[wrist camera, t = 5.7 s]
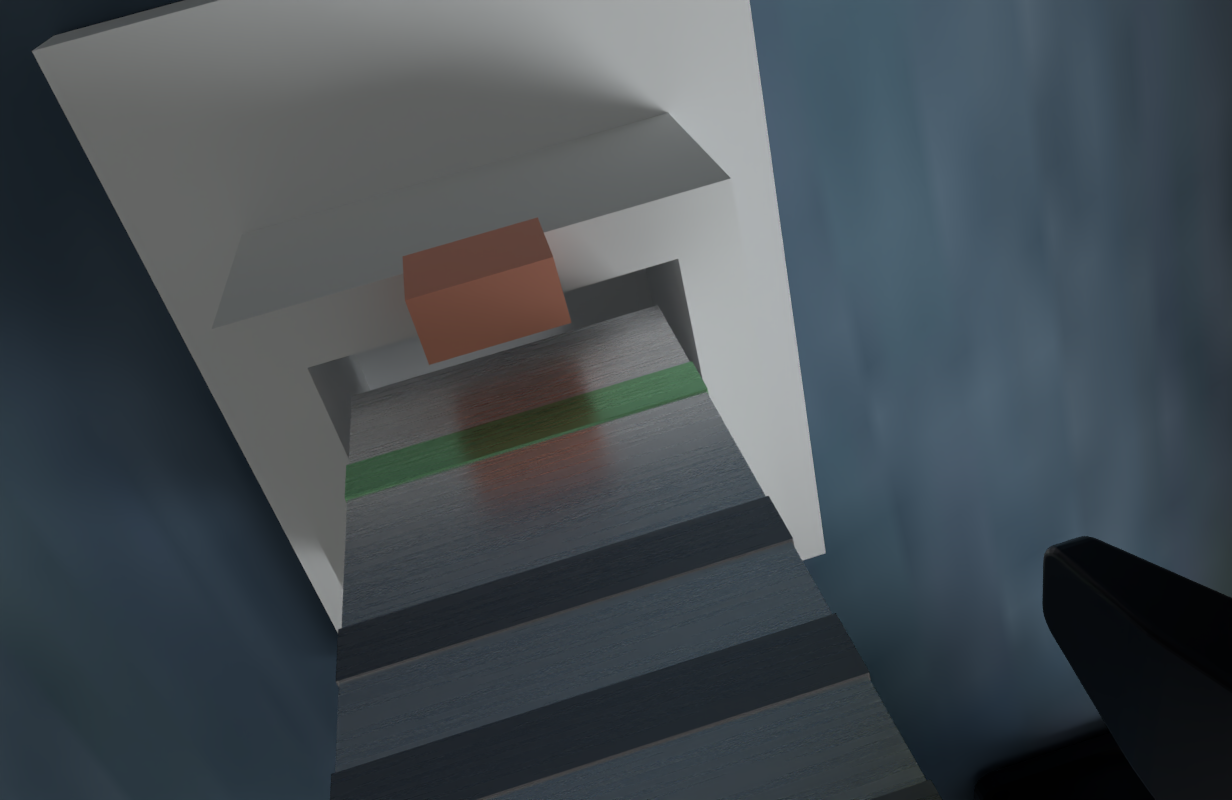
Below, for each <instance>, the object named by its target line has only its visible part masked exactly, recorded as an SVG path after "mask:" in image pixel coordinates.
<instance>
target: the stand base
mask: <svg viewBox="0 0 1232 800" xmlns="http://www.w3.org/2000/svg"><path fill="white" fill-rule="evenodd" d="M32 53H33V54H34V56H35V58H36V60H37V62H38V64H39V66H40V68H41V70H42V72H43V73H44V75H45V77H46V79H47V81H48V83H49V85H50V87H51V89H52V91H53V92H54V94H55V96H56V98H57V100H58V102H59V104H60V106H61V108H62V110H63V111H64V113H65V115H66V117H67V119H68V121H69V123H70V125H71V127H72V129H73V130H74V132H75V134H76V136H77V138H78V140H79V142H80V144H81V146H82V148H83V150H84V151H85V153H86V155H87V157H88V159H89V161H90V163H91V165H92V167H93V169H94V170H95V172H96V174H97V176H98V178H99V180H100V182H101V184H102V186H103V188H104V189H105V191H106V193H107V195H108V197H109V199H110V201H111V203H112V205H113V207H114V208H115V210H116V212H117V214H118V216H119V218H120V220H121V222H122V224H123V226H124V227H125V229H126V231H127V233H128V235H129V237H130V239H131V241H132V243H133V245H134V247H135V248H136V250H137V252H138V254H139V256H140V258H141V260H142V262H143V264H144V266H145V267H146V269H147V271H148V273H149V275H150V277H151V279H152V281H153V283H154V285H155V286H156V288H157V290H158V292H159V294H160V296H161V298H162V300H163V302H164V304H165V305H166V307H167V309H168V311H169V313H170V315H171V317H172V319H173V321H174V323H175V324H176V326H177V328H178V330H179V332H180V334H181V336H182V338H183V340H184V342H185V343H186V345H187V347H188V349H189V351H190V353H191V355H192V357H193V359H194V361H195V363H196V364H197V366H198V368H199V370H200V372H201V374H202V376H203V378H204V380H205V382H206V383H207V385H208V387H209V389H210V391H211V393H212V395H213V397H214V399H215V401H216V402H217V404H218V406H219V408H220V410H221V412H222V414H223V416H224V418H225V420H226V421H227V423H228V425H229V427H230V429H231V431H232V433H233V435H234V437H235V439H236V440H237V442H238V444H239V446H240V448H241V450H242V452H243V454H244V456H245V458H246V460H247V461H248V463H249V465H250V467H251V469H252V471H253V473H254V475H255V477H256V479H257V480H258V482H259V484H260V486H261V488H262V490H263V492H264V494H265V496H266V498H267V499H268V501H269V503H270V505H271V507H272V509H273V511H274V513H275V515H276V517H277V518H278V520H279V522H280V524H281V526H282V528H283V530H284V532H285V534H286V536H287V537H288V539H289V541H290V543H291V545H292V547H293V549H294V551H295V553H296V555H297V557H298V558H299V560H300V562H301V564H302V566H303V568H304V570H305V572H306V574H307V576H308V577H309V579H310V581H311V583H312V585H313V587H314V589H315V591H316V593H317V595H318V596H319V598H320V600H321V602H322V604H323V606H324V608H325V610H326V612H327V614H328V615H329V617H330V619H331V621H332V623H333V625H334V627H335V629H336V631H337V633H338V629H341V628H342V606H343V583H344V561H345V538H346V516H347V502H346V500H345V479H346V465H348V464H349V448H350V425H351V403H352V396H353V395H356V394H359V393H363V392H366V391H370V390H373V389H376V388H380V387H383V386H386V385H390V384H393V383H396V382H400V381H403V380H407V379H410V378H413V377H417V376H420V375H423V374H427V373H430V372H434V371H437V370H440V369H444V368H447V367H450V366H454V365H457V364H461V363H464V362H467V361H471V360H474V359H477V358H481V357H484V356H488V355H491V354H494V353H498V352H501V351H504V350H508V349H511V348H514V347H518V346H521V345H525V344H528V343H531V342H535V341H538V340H541V339H545V338H548V337H552V336H555V335H558V334H562V333H565V332H568V331H572V330H575V329H579V328H582V327H585V326H589V325H592V324H595V323H599V322H602V321H605V320H609V319H612V318H616V317H619V316H622V315H626V314H629V313H632V312H636V311H639V310H643V309H646V308H649V307H653V306H656V305H658V307H659V308H660V310H661V312H662V314H663V315H664V317H665V319H666V321H667V322H668V324H669V326H670V328H671V329H672V331H673V333H674V335H675V337H676V338H677V340H678V342H679V344H680V345H681V347H682V349H683V351H684V352H685V354H686V356H687V358H688V360H689V361H690V362H691V361H692V362H693V364H694V365H695V367H696V369H697V371H698V373H699V374H700V376H701V378H702V380H703V381H704V383H705V385H706V387H707V388H708V393H709V397H710V398H711V400H712V402H713V404H714V406H715V407H716V409H717V411H718V413H719V414H720V416H721V418H722V420H723V421H724V423H725V425H726V427H727V429H728V430H729V432H730V434H731V436H732V437H733V439H734V441H735V443H736V444H737V446H738V448H739V450H740V451H741V453H742V455H743V457H744V459H745V460H746V462H747V464H748V466H749V467H750V469H751V471H752V473H753V474H754V476H755V478H756V480H757V482H758V483H759V485H760V487H761V489H762V490H763V492H764V494H765V496H769V497H770V499H771V501H772V502H773V504H774V506H775V508H776V509H777V511H778V513H779V515H780V516H781V518H782V520H783V522H784V523H785V525H786V527H787V529H788V530H789V532H790V534H791V536H792V537H793V541H794V547H795V549H796V551H797V552H798V554H799V556H800V558H801V559H802V560H806V559H809V558H812V557H815V556H818V555H821V554H825V553H826V552H825V545H824V538H823V531H822V523H821V516H820V509H819V502H818V494H817V487H816V480H815V473H814V465H813V458H812V451H811V444H810V436H809V429H808V422H807V415H806V407H805V400H804V393H803V386H802V378H801V371H800V364H799V357H798V349H797V342H796V335H795V328H794V320H793V313H792V306H791V299H790V291H789V284H788V277H787V270H786V262H785V255H784V248H783V241H782V233H781V226H780V219H779V212H778V204H777V197H776V190H775V183H774V175H773V168H772V161H771V154H770V146H769V139H768V132H767V125H766V117H765V110H764V103H763V96H762V88H761V81H760V74H759V67H758V59H757V52H756V45H755V38H754V30H753V23H752V16H751V9H750V1H749V0H183V1H180V2H176V3H172V4H169V5H165V6H161V7H158V8H154V9H150V10H146V11H143V12H139V13H135V14H132V15H128V16H124V17H121V18H117V19H113V20H109V21H106V22H102V23H98V24H95V25H91V26H87V27H84V28H80V29H76V30H72V31H69V32H65V33H61V34H58V35H54V36H53V37H51V38H50V39H48V40H47V41H45V42H44V43H43V44H41V45H40V46H38V47H37V48H35V49H34V50H33V51H32Z"/></svg>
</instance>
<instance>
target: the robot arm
mask: <svg viewBox="0 0 1232 800" xmlns="http://www.w3.org/2000/svg"><path fill="white" fill-rule="evenodd" d="M1043 613H1044V617H1045V620H1046V623H1047V625H1048V627H1049V629H1050V631H1051V633H1052V635H1053V637H1054V638H1055V640H1056V642H1057V643H1058V645H1059V647H1060V648H1061V650H1062V652H1063V653H1064V655H1065V657H1066V658H1067V660H1068V662H1069V663H1070V665H1071V667H1072V668H1073V670H1074V672H1075V674H1076V675H1077V677H1078V679H1079V680H1080V682H1081V684H1082V685H1083V687H1084V689H1085V690H1086V692H1087V694H1088V695H1089V697H1090V699H1091V700H1092V702H1093V704H1094V705H1095V707H1096V709H1097V710H1098V712H1099V714H1100V716H1101V717H1102V719H1103V721H1104V722H1105V724H1106V726H1107V727H1108V729H1109V731H1110V732H1111V733H1108V734H1105V735H1102V736H1099V737H1096V738H1093V739H1090V740H1087V741H1084V742H1081V743H1078V744H1075V745H1072V746H1069V747H1066V748H1063V749H1060V750H1057V751H1054V752H1051V753H1048V754H1045V755H1042V756H1039V757H1036V758H1033V759H1030V760H1027V761H1024V762H1021V763H1018V764H1015V765H1012V766H1009V767H1006V768H1003V769H1000V770H997V771H994V772H991V773H989V774H987V775H985V776H984V777H982V778H981V779H980V780H979V781H978V782H977V784H976V785H975V789H974V797H975V800H1232V598H1230V597H1228V596H1226V595H1224V594H1221V593H1219V592H1217V591H1215V590H1212V589H1210V588H1208V587H1205V586H1203V585H1201V584H1199V583H1196V582H1194V581H1192V580H1189V579H1187V578H1185V577H1183V576H1180V575H1178V574H1176V573H1174V572H1171V571H1169V570H1167V569H1164V568H1162V567H1160V566H1158V565H1155V564H1153V563H1151V562H1148V561H1146V560H1144V559H1142V558H1139V557H1137V556H1135V555H1133V554H1130V553H1128V552H1126V551H1123V550H1121V549H1119V548H1117V547H1114V546H1112V545H1110V544H1107V543H1105V542H1103V541H1101V540H1098V539H1096V538H1093V537H1088V536H1082V537H1078V538H1075V539H1071V540H1068V541H1065V542H1062V543H1059V544H1056V545H1053V546H1051V547H1049V548H1048V549H1047V550H1046V552H1045V554H1044V560H1043Z"/></svg>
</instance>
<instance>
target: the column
mask: <svg viewBox="0 0 1232 800" xmlns="http://www.w3.org/2000/svg"><path fill="white" fill-rule="evenodd" d="M345 500H346V502H347V516H346V538H345V561H344V583H343V606H342V628H341V629H338V645H337V666H336V683H337V685H338V687H339V696H338V719H337V742H336V764H335V773H333V774H331V791H330V800H942V799H941V797H940V795H939V793H938V792H937V790H936V788H935V786H934V785H933V783H932V781H931V780H928V781H927V780H926V779H925V777H924V775H923V773H922V772H921V770H920V768H919V766H918V764H917V763H916V761H915V759H914V757H913V756H912V754H911V752H910V750H909V749H908V747H907V745H906V743H905V741H904V740H903V738H902V736H901V734H900V733H899V731H898V729H897V727H896V726H895V724H894V722H893V720H892V718H891V717H890V715H889V713H888V711H887V710H886V708H885V706H884V704H883V703H882V701H881V699H880V697H879V696H878V694H877V692H876V690H875V688H874V687H873V685H872V683H871V681H870V672H869V671H868V669H867V667H866V665H865V664H864V662H863V660H862V658H861V657H860V655H859V653H858V651H857V650H856V648H855V646H854V644H853V643H852V641H851V639H850V637H849V636H848V634H847V632H846V630H845V629H844V627H843V625H842V623H841V621H840V620H839V618H838V616H837V614H836V613H835V614H832V612H831V611H830V609H829V607H828V605H827V604H826V602H825V600H824V598H823V596H822V595H821V593H820V591H819V589H818V588H817V586H816V584H815V582H814V581H813V579H812V577H811V575H810V574H809V572H808V570H807V568H806V566H805V565H804V563H803V561H802V559H801V558H800V556H799V554H798V552H797V551H796V549H795V547H794V541H793V537H792V536H791V534H790V532H789V530H788V529H787V527H786V525H785V523H784V522H783V520H782V518H781V516H780V515H779V513H778V511H777V509H776V508H775V506H774V504H773V502H772V501H771V499H770V497H769V496H765V494H764V492H763V490H762V489H761V487H760V485H759V483H758V482H757V480H756V478H755V476H754V474H753V473H752V471H751V469H750V467H749V466H748V464H747V462H746V460H745V459H744V457H743V455H742V453H741V451H740V450H739V448H738V446H737V444H736V443H735V441H734V439H733V437H732V436H731V434H730V432H729V430H728V429H727V427H726V425H725V423H724V421H723V420H722V418H721V416H720V414H719V413H718V411H717V409H716V407H715V406H714V404H713V402H712V400H711V398H710V397H709V393H708V388H707V387H706V385H705V383H704V381H703V380H702V378H701V376H700V374H699V373H698V371H697V369H696V367H695V365H694V364H693V362H692V361H691V362H690V361H689V360H688V358H687V356H686V354H685V352H684V351H683V349H682V347H681V345H680V344H679V342H678V340H677V338H676V337H675V335H674V333H673V331H672V329H671V328H670V326H669V324H668V322H667V321H666V319H665V317H664V315H663V314H662V312H661V310H660V308H659V307H658V305H656V306H653V307H649V308H646V309H643V310H639V311H636V312H632V313H629V314H626V315H622V316H619V317H616V318H612V319H609V320H605V321H602V322H599V323H595V324H592V325H589V326H585V327H582V328H579V329H575V330H572V331H568V332H565V333H562V334H558V335H555V336H552V337H548V338H545V339H541V340H538V341H535V342H531V343H528V344H525V345H521V346H518V347H514V348H511V349H508V350H504V351H501V352H498V353H494V354H491V355H488V356H484V357H481V358H477V359H474V360H471V361H467V362H464V363H461V364H457V365H454V366H450V367H447V368H444V369H440V370H437V371H434V372H430V373H427V374H423V375H420V376H417V377H413V378H410V379H407V380H403V381H400V382H396V383H393V384H390V385H386V386H383V387H380V388H376V389H373V390H370V391H366V392H363V393H359V394H356V395H353V396H352V403H351V425H350V448H349V464H348V465H346V479H345Z"/></svg>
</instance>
